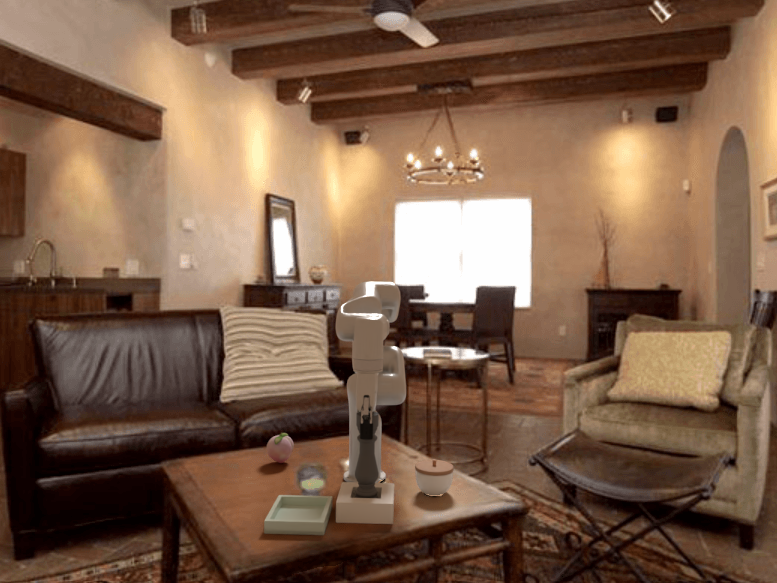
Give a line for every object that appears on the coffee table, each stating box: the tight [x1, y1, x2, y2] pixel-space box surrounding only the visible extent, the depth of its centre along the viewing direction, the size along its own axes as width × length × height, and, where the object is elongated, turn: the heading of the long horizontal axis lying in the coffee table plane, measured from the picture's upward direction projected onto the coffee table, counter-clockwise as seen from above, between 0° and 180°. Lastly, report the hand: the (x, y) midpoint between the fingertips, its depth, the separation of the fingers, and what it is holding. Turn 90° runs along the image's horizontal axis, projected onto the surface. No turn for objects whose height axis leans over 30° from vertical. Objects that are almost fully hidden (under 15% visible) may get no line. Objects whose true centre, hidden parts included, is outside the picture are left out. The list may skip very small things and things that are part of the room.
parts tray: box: [263, 494, 333, 536], centre depth 146 cm, size 16×14×3 cm
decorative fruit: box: [266, 432, 295, 464], centre depth 188 cm, size 9×8×10 cm
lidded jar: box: [414, 458, 454, 495], centre depth 165 cm, size 11×11×9 cm
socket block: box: [335, 481, 395, 525], centre depth 151 cm, size 14×14×5 cm
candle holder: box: [354, 411, 380, 498], centre depth 151 cm, size 6×6×25 cm
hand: (367, 434), depth 151 cm, fingers closed on candle holder, 5 cm apart
